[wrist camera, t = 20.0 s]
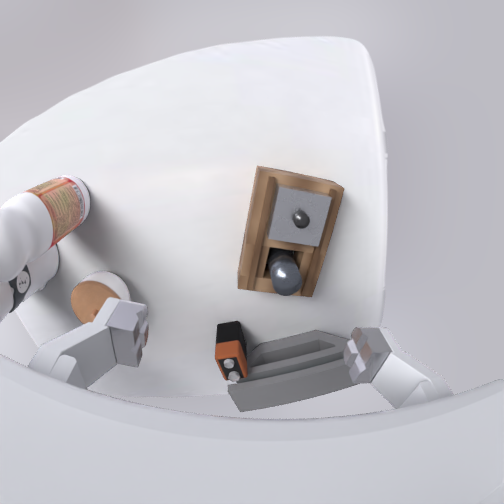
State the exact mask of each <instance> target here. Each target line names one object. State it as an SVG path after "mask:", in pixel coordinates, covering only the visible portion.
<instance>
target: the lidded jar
mask: <svg viewBox="0 0 504 504" xmlns="http://www.w3.org/2000/svg"><path fill="white" fill-rule="evenodd" d="M109 297H112V298H117V299H121V300H127V301H131V300H130V293H129V290H128V288H127V286H126V284H125V283H124V282H123V280H122V279H121V278H120V277H119V276H117V275H116V274H113V273H111V272H107V271H97V272H94V273H91V274H90V275H88V276H87V277H85V278H84V279H83V280H82V281H81V282H80V283H79V284H78V285H77V286H76V287H75V288H74V289H73V291H72V294H71V305H72V308H73V311H74V313H75V315H76V316H77V318H78V319H79V320H80V321H81V322H82V323H83V324H86V323H88V322H93V321H94V319H95V317H96V316H97V314H98V313H99V311H100V309H101V308H102V306H103V305H104V303H105V301H106V300H107V299H108V298H109Z"/></svg>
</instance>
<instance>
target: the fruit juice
mask: <svg viewBox="0 0 504 504" xmlns="http://www.w3.org/2000/svg"><path fill="white" fill-rule="evenodd" d="M89 209H90V197H89V193H88V190H87V188H86V186H85V185H84V183H83V182H82V181H81V180H80V179H78V178H77V177H74V176H71V175H64V176H60V177H57V178H55V179H52V180H50V181H48V182H45V183H43V184H40V185H38V186H36V187H33V188H31V189H29V190H27V191H25V192H22V193H20V194H18V195H16V196H14V197H12V198H11V199H9V200H8V201H7V202H6V203H5V204H4V205H3V206H2V207H0V282H8V281H11V280H13V279H14V278H15V277H17V276H18V275H19V274H20V273H21V272H22V270H23V269H24V267H25V265H26V263H30V262H33V261H35V260H36V259H38V258H39V257H41V256H42V255H43V254H44V253H46V252H47V251H48V250H49V249H50V248H51V247H53V246H54V245H55V244H56V243H57V242H59V241H60V240H61V239H62V238H64V237H65V236H66V235H68V234H69V233H70V232H71V231H73V230H74V229H75V228H77V227H78V226H79V225H81V224H82V223H83V221H84V220H85V219H86V217H87V215H88V213H89Z"/></svg>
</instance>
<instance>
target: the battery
mask: <svg viewBox="0 0 504 504" xmlns="http://www.w3.org/2000/svg"><path fill="white" fill-rule="evenodd" d="M215 360H216V362H217V364H218V366H219V369H220V371H221V373H222V375H223V377H224V379H225V380H231V381H232V382H234V381H238V380H239V379H241V378H246V377H247V376H248V372H247V351H246V342H245V339H244V336H243V333H242V329H241V326H240V323H239V322H238V321H235V322H229V323H223V324H218V325H217V335H216V348H215Z"/></svg>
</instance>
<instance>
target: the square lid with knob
mask: <svg viewBox="0 0 504 504" xmlns="http://www.w3.org/2000/svg"><path fill="white" fill-rule="evenodd" d="M331 199H332V197H330V196H329V195H328V194H327V193H323V192H319V191H314V190H309V189H304V188H299V187H294V186H289V185H284V184H279V183H277V184H276V189H275V194H274V198H273V203H272V208H271V213H270V218H269V222H268V227H267V236H268V239H272V240H278V241H285V242H292V243H298V244H304V245H311V246H317V247H318V246H319V243H320V239H321V236H322V232H323V229H324V225H325V221H326V218H327V214H328V210H329V206H330V203H331Z"/></svg>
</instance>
